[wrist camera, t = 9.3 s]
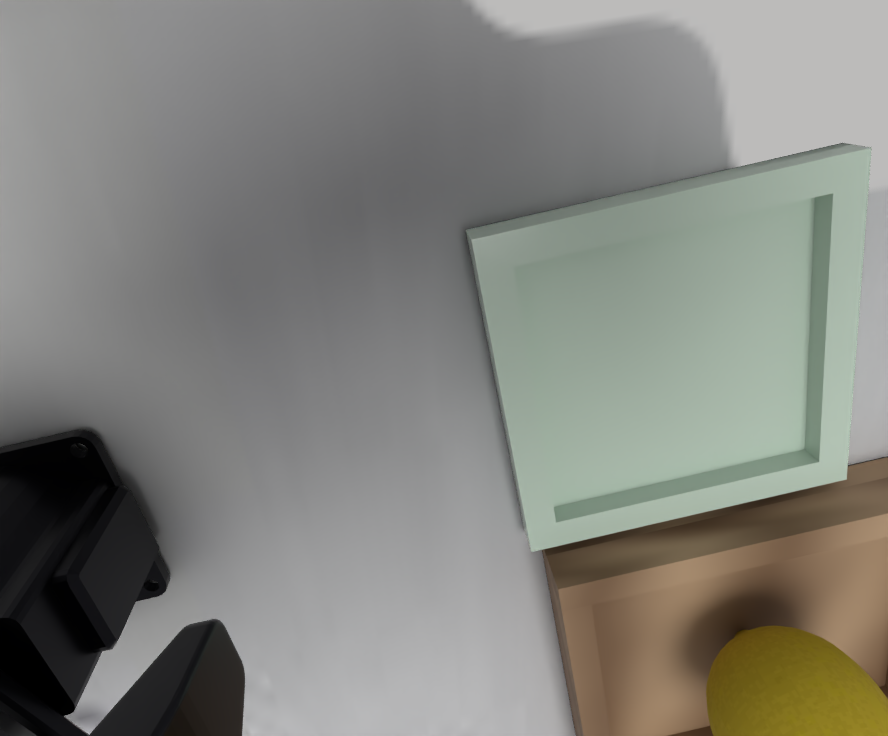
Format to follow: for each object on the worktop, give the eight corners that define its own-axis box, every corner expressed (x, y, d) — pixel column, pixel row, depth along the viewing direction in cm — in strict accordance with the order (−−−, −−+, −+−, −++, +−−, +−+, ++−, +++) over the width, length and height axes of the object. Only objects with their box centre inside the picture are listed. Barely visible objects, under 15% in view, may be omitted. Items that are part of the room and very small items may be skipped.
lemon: (804, 669, 26) (967, 898, 19) (671, 695, 26) (783, 935, 19) (818, 565, 24) (1009, 782, 17) (671, 593, 24) (799, 824, 17)
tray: (578, 747, 29) (596, 808, 26) (539, 537, 23) (558, 589, 21) (889, 676, 29) (935, 730, 26) (918, 449, 23) (979, 492, 21)
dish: (523, 529, 23) (531, 552, 22) (465, 229, 18) (471, 239, 17) (824, 460, 23) (846, 479, 22) (842, 143, 18) (871, 147, 17)
